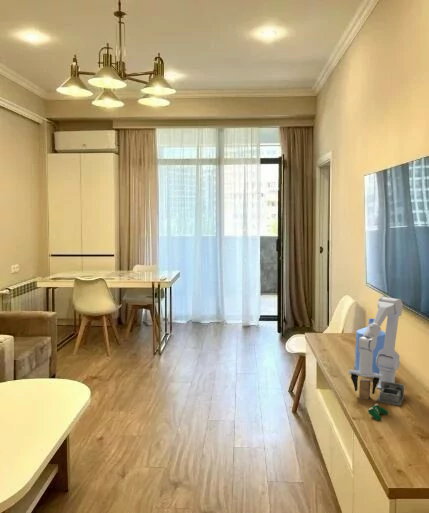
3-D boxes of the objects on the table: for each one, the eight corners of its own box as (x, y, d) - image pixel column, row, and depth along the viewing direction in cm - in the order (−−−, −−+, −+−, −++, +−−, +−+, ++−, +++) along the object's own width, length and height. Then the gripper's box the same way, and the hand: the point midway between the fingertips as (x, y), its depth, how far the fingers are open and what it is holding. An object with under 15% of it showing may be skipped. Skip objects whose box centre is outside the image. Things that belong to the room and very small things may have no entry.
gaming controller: (383, 417, 213) (374, 405, 216) (389, 413, 211) (380, 400, 214) (374, 424, 206) (365, 411, 208) (381, 419, 204) (371, 406, 207)
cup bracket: (381, 393, 236) (381, 380, 236) (403, 397, 232) (404, 384, 231) (376, 401, 226) (377, 388, 225) (400, 405, 221) (401, 392, 221)
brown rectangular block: (360, 395, 234) (361, 378, 233) (369, 396, 232) (370, 379, 231) (359, 397, 230) (359, 380, 230) (368, 399, 228) (368, 382, 228)
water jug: (388, 375, 263) (391, 322, 260) (358, 374, 263) (361, 322, 261) (379, 366, 278) (382, 316, 276) (351, 365, 279) (353, 315, 276)
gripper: (348, 362, 229) (346, 391, 231) (381, 367, 223) (379, 397, 224) (351, 359, 236) (350, 387, 237) (383, 363, 229) (382, 392, 230)
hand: (364, 392), depth 231 cm, fingers open, 7 cm apart
